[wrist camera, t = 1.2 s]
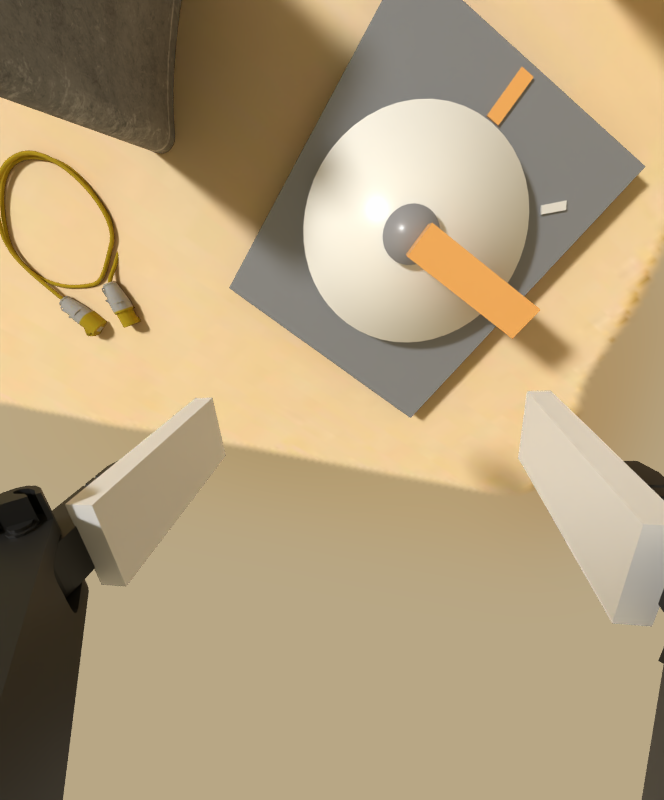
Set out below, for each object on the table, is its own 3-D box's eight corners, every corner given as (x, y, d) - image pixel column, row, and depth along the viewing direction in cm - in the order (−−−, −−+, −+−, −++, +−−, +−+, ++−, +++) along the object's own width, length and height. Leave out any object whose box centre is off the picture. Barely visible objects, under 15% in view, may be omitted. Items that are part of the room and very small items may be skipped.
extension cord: (42, 331, 39) (25, 336, 37) (-16, 155, 32) (-40, 150, 31) (148, 335, 37) (135, 340, 35) (109, 150, 31) (91, 144, 29)
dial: (270, 262, 30) (247, 267, 26) (392, 45, 24) (392, -2, 19) (435, 384, 32) (443, 409, 28) (590, 217, 26) (635, 212, 21)
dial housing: (407, -33, 23) (408, -52, 22) (632, 170, 26) (647, 166, 24) (235, 286, 33) (228, 288, 32) (409, 411, 36) (410, 418, 34)
